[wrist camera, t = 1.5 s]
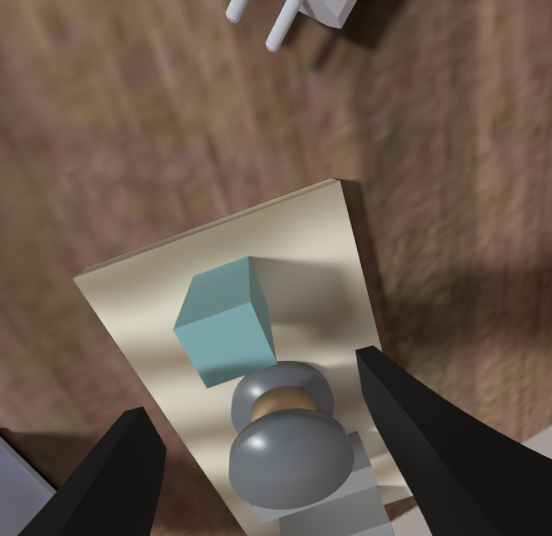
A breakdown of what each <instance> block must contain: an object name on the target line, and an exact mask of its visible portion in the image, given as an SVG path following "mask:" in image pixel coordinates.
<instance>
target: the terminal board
mask: <svg viewBox="0 0 552 536" xmlns="http://www.w3.org/2000/svg"><path fill="white" fill-rule="evenodd" d="M247 256H248V258H249V260H250V262H251V265H252V267H253V270H254V272H255V275H256V277H257V280H258V282H259V285H260V287H261V289H262V292H263V294H264V297H265V299H266V302H267V304H268V311H269V317H270V323H271V329H272V335H273V341H274V347H275V353H276V359H277V361H296V362H301V363H305V364H307V365H310V366H312V367H313V368H315V369H317V370H318V371H319V372H320V373H321V374H322V375H323V376H324V377H325V378H326V380H327V382H328V384H329V386H330V389H331V392H332V394H333V398H334V411H333V415H332V417H333V418H334V419H336V420H337V421H338V422H339V423H340V424H341V425H342V426H343V428H344V429H345V431H346V433H347V434H350V433H353V432H356V431H358V433H359V436H360V438H361V441H362V443H363V445H364V448H365V450H366V453H367V455H368V458H369V460H370V463H371V465H372V468H373V471H374V474H375V477H376V480H377V483H378V485H376V487H377V490H378V492H379V495H380V497H381V500H382V503H383V505H386V504H389V503H392V502H395V501H398V500H401V499H404V498H407V497H410V496H413V495H412V493H411V491H410V489H409V487H408V485H407V484H406V482H405V480H404V478H403V476H402V474H401V473H400V471H399V469H398V467H397V465H396V463H395V462H394V460H393V458H392V456H391V454H390V452H389V450H388V449H387V447H386V445H385V443H384V441H383V439H382V438H381V436H380V434H379V432H378V430H377V428H376V426H375V424H374V422H373V419H372V417H371V415H370V412H369V410H368V407H367V405H366V402H365V400H364V398H363V394H362V389H361V383H360V377H359V371H358V365H357V359H356V354H355V350H357V349H361V348H364V347H368V346H372V345H373V346H375V347H377V348H378V349H379V350H380V351H381V352H382V349H381V345H380V341H379V337H378V332H377V328H376V324H375V320H374V316H373V312H372V308H371V304H370V300H369V296H368V292H367V288H366V284H365V280H364V276H363V272H362V268H361V264H360V260H359V256H358V252H357V248H356V244H355V240H354V236H353V232H352V228H351V224H350V220H349V216H348V212H347V208H346V204H345V199H344V195H343V191H342V187H341V183H340V181H339V180H336V179H333V178H330V179H328V180H325V181H322V182H319V183H317V184H314V185H311V186H308V187H306V188H303V189H300V190H298V191H295V192H292V193H289V194H287V195H284V196H281V197H278V198H276V199H273V200H270V201H268V202H265V203H262V204H259V205H257V206H254V207H251V208H248V209H246V210H243V211H240V212H238V213H235V214H232V215H229V216H227V217H224V218H221V219H218V220H216V221H213V222H210V223H208V224H205V225H202V226H199V227H197V228H194V229H191V230H188V231H186V232H183V233H180V234H178V235H175V236H172V237H169V238H167V239H164V240H161V241H158V242H156V243H153V244H150V245H148V246H145V247H142V248H139V249H137V250H134V251H131V252H128V253H126V254H123V255H120V256H118V257H115V258H112V259H109V260H107V261H104V262H101V263H98V264H96V265H93V266H90V267H88V268H86V269H85V270H83V271H82V272H81V273H79V274H78V275H77V276H76V277H74V278H73V280H74V281H75V283H76V284H77V286H78V287H79V289H80V290H81V292H82V293H83V295H84V296H85V298H86V299H87V301H88V302H89V303H90V305H91V306H92V308H93V309H94V311H95V312H96V314H97V315H98V317H99V318H100V320H101V321H102V323H103V324H104V326H105V327H106V328H107V330H108V331H109V333H110V334H111V336H112V337H113V339H114V340H115V342H116V343H117V345H118V346H119V348H120V349H121V351H122V352H123V353H124V355H125V356H126V358H127V359H128V361H129V362H130V364H131V365H132V367H133V368H134V370H135V371H136V373H137V374H138V376H139V377H140V379H141V380H142V381H143V383H144V384H145V386H146V387H147V389H148V390H149V392H150V393H151V395H152V396H153V398H154V399H155V401H156V402H157V404H158V405H159V406H160V408H161V409H162V411H163V412H164V414H165V415H166V417H167V418H168V420H169V421H170V423H171V424H172V426H173V427H174V429H175V430H176V431H177V433H178V434H179V436H180V437H181V439H182V440H183V442H184V443H185V445H186V446H187V448H188V449H189V451H190V452H191V454H192V455H193V456H194V458H195V459H196V461H197V462H198V464H199V465H200V467H201V468H202V470H203V471H204V473H205V474H206V476H207V477H208V479H209V480H210V482H211V483H212V484H213V486H214V487H215V489H216V490H217V492H218V493H219V495H220V496H221V498H222V499H223V501H224V502H225V504H226V505H227V507H228V508H229V509H230V511H231V512H232V514H233V515H234V517H235V518H236V520H237V521H238V523H239V524H240V526H241V527H242V529H243V530H244V532H245V533H246V534H247V536H281V533H280V523H279V518H278V519H275V520H272V521H269V522H266V523H263V524H262V523H261V522H260V520H259V518H258V517H257V515H256V514H255V512H254V511H253V509H252V507H251V503H249V502H247V501H245V500H244V499H242V498H241V497H240V496H239V495H238V494H237V493H236V492H235V491H234V489H233V488H232V486H231V483H230V480H229V455H230V450H231V446H232V444H233V442H234V440H235V439H236V437H237V436H238V432H237V431H236V429H235V428H234V425H233V423H232V419H231V403H232V396H233V393H234V390H235V388H236V387H237V385H238V383H239V382H240V381H241V380H242V379H243V378H244V377H245V376H246V375H245V376H242V377H239V378H236V379H233V380H230V381H228V382H225V383H222V384H219V385H216V386H213V387H210V388H208V389H207V388H206V386H205V385H204V383H203V381H202V379H201V378H200V376H199V374H198V372H197V371H196V369H195V367H194V366H193V364H192V362H191V360H190V359H189V357H188V355H187V353H186V352H185V350H184V348H183V346H182V345H181V343H180V341H179V339H178V338H177V336H176V334H175V332H174V331H173V328H174V326H175V323H176V320H177V318H178V315H179V312H180V310H181V307H182V305H183V302H184V299H185V297H186V294H187V291H188V289H189V286H190V283H191V281H192V278H193V276H194V275H197V274H200V273H203V272H205V271H208V270H211V269H214V268H216V267H219V266H222V265H225V264H227V263H230V262H233V261H236V260H239V259H241V258H244V257H247Z"/></svg>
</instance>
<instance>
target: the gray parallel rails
mask: <svg viewBox="0 0 552 536" xmlns="http://www.w3.org/2000/svg"><path fill="white" fill-rule="evenodd" d="M347 435H348V438H349V441H350V443H351V446H352V449H353V453H354V464H353V468H352V471H351V473H350V475H349V477H348V478H347V480H346V481H345V483H344V484H343V485H342V486H341V487H340V488H339V489H338V490H337V491H335V492H334V493H333V494H331V495H330V496H328V497H327V498H325V499H323V500H321V501H319V502H317V503H314V504H311V505H308V506H305V507H301V508H296V509H288V510H274V509H266V508H262V507H258V506H255V505H253V504H251V507H252V509H253V511H254V512H255V514H256V515H257V517H258V518H259V520H260V522H261V523H262V524H263V523H266V522H269V521H272V520H275V519H278V518H279V523H280V533H281V536H395V535H394V532H393V529H392V526H391V523H390V520H389V518H388V515H387V513H386V510H385V508H384V505H383V503H382V500H381V497H380V495H379V492H378V490H377V487H376V485H378V483H377V480H376V477H375V474H374V471H373V468H372V465H371V463H370V460H369V458H368V455H367V453H366V450H365V448H364V445H363V443H362V441H361V438H360V436H359V433H358V431H356V432H353V433H350V434H347Z"/></svg>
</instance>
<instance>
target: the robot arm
mask: <svg viewBox="0 0 552 536" xmlns="http://www.w3.org/2000/svg"><path fill="white" fill-rule="evenodd" d="M355 354H356V359H357V365H358V371H359V377H360V383H361V389H362V394H363V398H364V400H365V402H366V405H367V407H368V410H369V412H370V415H371V417H372V419H373V422H374V424H375V426H376V428H377V430H378V432H379V434H380V436H381V438H382V439H383V441H384V443H385V445H386V447H387V449H388V450H389V452H390V454H391V456H392V458H393V460H394V462H395V463H396V465H397V467H398V469H399V471H400V473H401V474H402V476H403V478H404V480H405V482H406V484H407V485H408V487H409V489H410V491H411V493H412V495H413V496H414V498H415V500H416V502H417V504H418V506H419V508H420V510H421V512H422V514H423V516H424V518H425V520H426V522H427V525H428V527H429V529H430V531H431V534H432V536H552V459H550V458H548V457H546V456H544V455H541V454H539V453H538V452H536V451H533V450H531V449H529V448H527V447H526V446H524V445H522V444H520V443H518V442H516V441H514V440H513V439H511V438H509V437H507V436H505V435H503V434H501V433H500V432H498V431H496V430H494V429H493V428H491V427H489V426H487V425H486V424H484V423H482V422H480V421H479V420H477V419H475V418H474V417H472V416H470V415H469V414H467V413H466V412H464V411H462V410H461V409H459V408H458V407H456V406H455V405H453V404H452V403H450V402H449V401H447V400H446V399H444V398H442V397H441V396H440V395H438V394H437V393H435V392H434V391H432V390H431V389H429V388H428V387H427V386H425V385H424V384H423V383H421V382H420V381H418V380H417V379H416V378H414V377H413V376H412V375H410V374H409V373H408V372H406V371H405V370H404V369H402V368H401V367H400V366H399V365H397V364H396V363H395V362H394V361H392V360H391V359H390V358H389V357H387V356H386V355H385V354H384V353H383V352H381V351H380V350H379V349H378V348H377V347H375V346H373V345H372V346H368V347H364V348H361V349H357V350H355ZM165 456H166V446H165V445H164V443H163V441H162V439H161V438H160V436H159V434H158V432H157V430H156V429H155V427H154V425H153V423H152V422H151V420H150V418H149V416H148V415H147V413H146V411H145V409H144V407H143V406H142V407H139V408H135V409H131V410H127V411H125V412H124V413H123V414H122V415H121V416H120V417H119V418H118V419H117V421H116V422H115V423H114V424H113V425H112V426H111V428H110V429H109V430H108V431H107V432H106V434H105V435H104V436H103V437H102V439H101V440H100V441H99V442H98V443H97V445H96V446H95V447H94V448H93V449H92V451H91V452H90V453H89V454H88V455H87V457H86V458H85V459H84V460H83V461H82V463H81V464H80V465H79V466H78V467H77V469H76V470H75V471H74V472H73V473H72V475H71V476H70V477H69V478H68V479H67V480H66V482H65V483H64V484H63V485H62V486H61V487H60V488H59V490H58V491H56V490H55V489H54V488H52V487H51V486H50V485H49V484H48V483H47V482H46V481H45V480H44V479H43V478H42V477H41V476H40V475H39V474H38V473H37V472H36V471H35V470H34V469H33V468H32V467H31V466H30V465H29V464H28V463H27V462H26V461H25V460H24V459H23V458H22V457H21V456H20V455H19V454H18V453H17V452H16V451H14V450H13V449H12V448H11V447H10V446H9V445H8V444H7V443H6V442H5V441H4V440H3V439H2V438H1V437H0V536H150V532H151V528H152V524H153V520H154V516H155V512H156V507H157V503H158V499H159V495H160V490H161V486H162V480H163V473H164V466H165Z"/></svg>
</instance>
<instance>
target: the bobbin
mask: <svg viewBox="0 0 552 536" xmlns="http://www.w3.org/2000/svg"><path fill="white" fill-rule="evenodd" d="M333 411H334V398H333V394H332V392H331V389H330V386H329V384H328V382H327V380H326V378H325V377H324V376H323V375H322V374H321V373H320V372H319V371H318V370H317V369H315V368H313V367H312V366H310V365H307V364H305V363H301V362H296V361H277V364H276V365H273V366H270V367H268V368H265V369H262V370H259V371H256V372H253V373H250V374H248V375H246V376H245V377H244V378H243V379H242V380H241V381H240V382H239V383H238V385H237V387H236V388H235V390H234V393H233V396H232V403H231V419H232V423H233V425H234V428H235V429H236V431H237V432H238V436H237V437H236V439H235V440H234V442H233V444H232V446H231V450H230V455H229V480H230V483H231V486H232V488H233V489H234V491H235V492H236V493H237V494H238V495H239V496H240V497H241V498H242V499H244V500H245V501H247V502H249V503H251V504H253V505H255V506H258V507H262V508H266V509H274V510H288V509H296V508H301V507H305V506H308V505H311V504H314V503H317V502H319V501H321V500H323V499H325V498H327V497H328V496H330V495H331V494H333V493H334V492H335V491H337V490H338V489H339V488H340V487H341V486H342V485H343V484H344V483H345V481H346V480H347V478H348V477H349V475H350V473H351V471H352V468H353V464H354V453H353V449H352V446H351V443H350V441H349V438H348V435H347V433H346V431H345V429H344V428H343V426H342V425H341V424H340V423H339V422H338V421H337V420H336V419H334V418H333V417H332V415H333Z"/></svg>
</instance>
